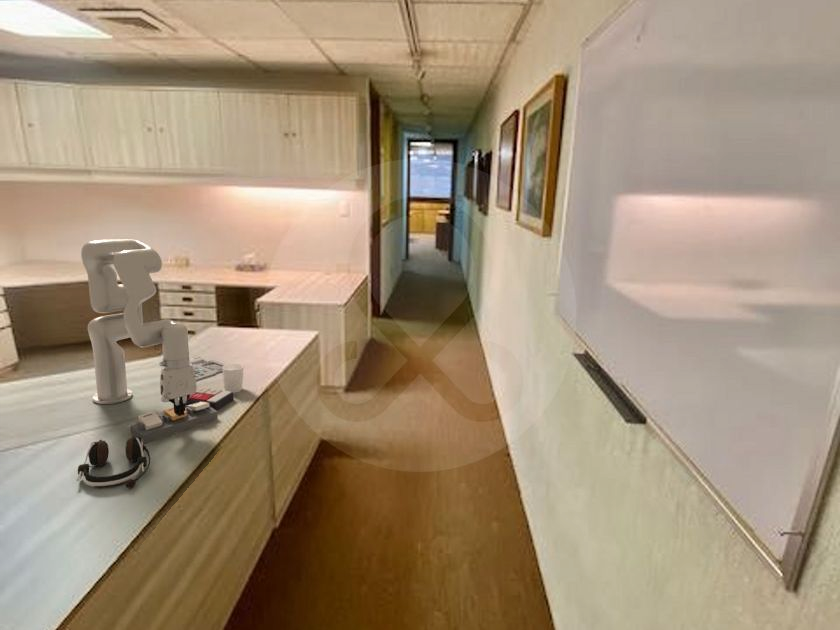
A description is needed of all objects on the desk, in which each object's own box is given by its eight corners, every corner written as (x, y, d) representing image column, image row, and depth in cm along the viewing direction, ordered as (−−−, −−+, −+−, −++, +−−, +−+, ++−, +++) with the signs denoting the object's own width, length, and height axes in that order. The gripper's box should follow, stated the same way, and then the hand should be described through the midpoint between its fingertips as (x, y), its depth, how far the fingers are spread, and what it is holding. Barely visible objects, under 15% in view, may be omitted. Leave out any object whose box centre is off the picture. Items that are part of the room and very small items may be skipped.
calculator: (199, 385, 187) (233, 390, 184) (200, 396, 188) (234, 400, 185) (180, 396, 177) (215, 401, 173) (181, 407, 178) (216, 412, 174)
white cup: (223, 394, 188) (223, 371, 186) (221, 387, 195) (221, 364, 193) (244, 392, 192) (244, 369, 190) (242, 385, 199) (241, 362, 196)
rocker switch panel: (142, 443, 150) (141, 430, 148) (130, 433, 155) (129, 420, 154) (217, 418, 169) (217, 406, 168) (204, 410, 174) (204, 398, 173)
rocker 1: (146, 430, 151) (146, 426, 151) (138, 419, 154) (138, 415, 154) (162, 425, 155) (162, 421, 155) (153, 414, 158) (154, 411, 158)
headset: (152, 428, 144) (145, 473, 127) (154, 449, 147) (148, 495, 130) (84, 435, 137) (68, 484, 120) (88, 457, 140) (72, 507, 123)
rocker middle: (172, 420, 157) (172, 416, 157) (164, 414, 161) (163, 410, 160) (186, 415, 161) (186, 411, 161) (178, 409, 165) (178, 405, 164)
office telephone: (161, 364, 209) (202, 353, 226) (161, 369, 210) (202, 358, 226) (192, 377, 197) (233, 365, 214) (193, 383, 198) (234, 370, 214)
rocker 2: (196, 410, 163) (195, 406, 163) (187, 409, 167) (187, 405, 167) (209, 406, 167) (208, 402, 167) (201, 405, 171) (200, 401, 171)
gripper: (157, 370, 147) (161, 425, 151) (204, 360, 158) (207, 410, 162) (147, 364, 151) (151, 417, 155) (193, 354, 163) (196, 404, 167)
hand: (179, 414), depth 159 cm, fingers closed
